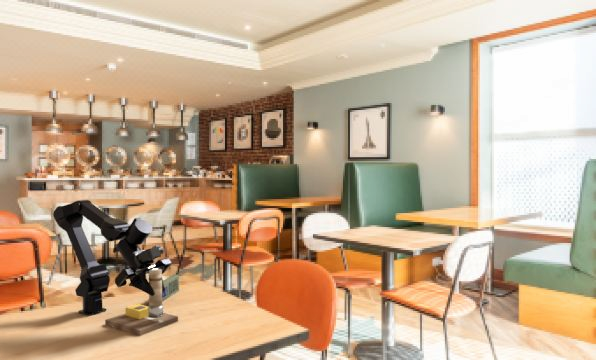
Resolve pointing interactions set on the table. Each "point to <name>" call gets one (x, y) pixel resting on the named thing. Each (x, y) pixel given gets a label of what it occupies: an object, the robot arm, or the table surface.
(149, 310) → the beige ringed cylinder
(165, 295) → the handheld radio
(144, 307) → the block
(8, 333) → the table surface
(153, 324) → the subfloor panel
